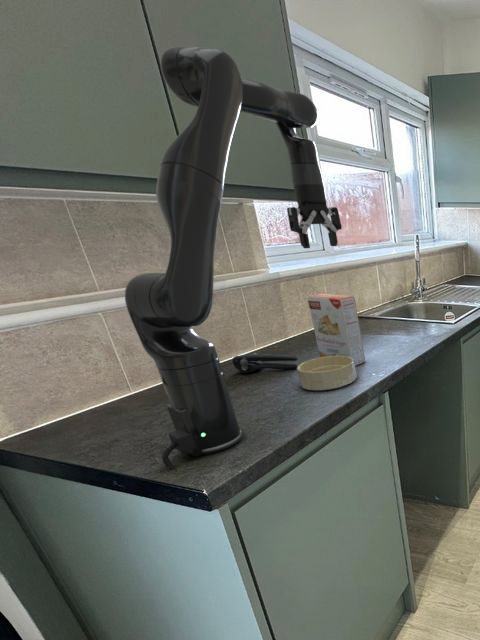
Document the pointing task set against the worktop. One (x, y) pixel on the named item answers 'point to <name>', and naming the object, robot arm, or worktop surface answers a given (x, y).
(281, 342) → the worktop surface
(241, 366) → the can opener
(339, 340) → the cracker box
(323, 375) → the bowl
